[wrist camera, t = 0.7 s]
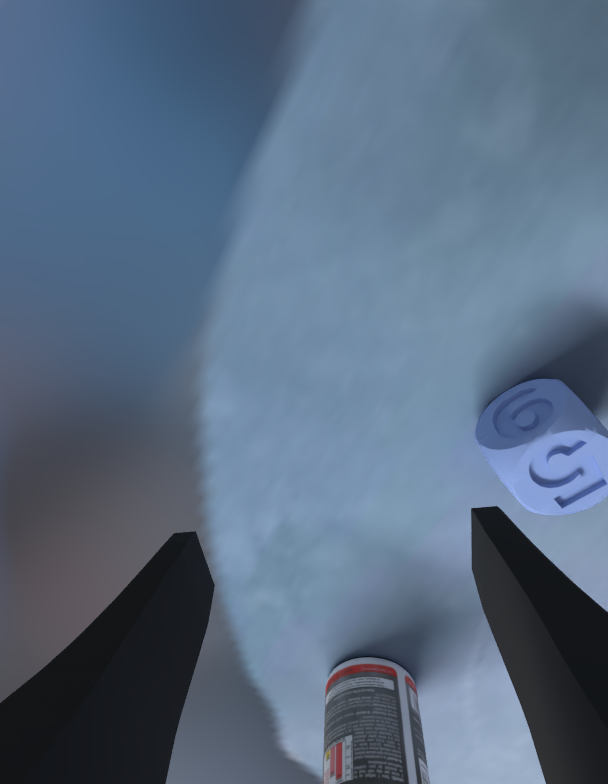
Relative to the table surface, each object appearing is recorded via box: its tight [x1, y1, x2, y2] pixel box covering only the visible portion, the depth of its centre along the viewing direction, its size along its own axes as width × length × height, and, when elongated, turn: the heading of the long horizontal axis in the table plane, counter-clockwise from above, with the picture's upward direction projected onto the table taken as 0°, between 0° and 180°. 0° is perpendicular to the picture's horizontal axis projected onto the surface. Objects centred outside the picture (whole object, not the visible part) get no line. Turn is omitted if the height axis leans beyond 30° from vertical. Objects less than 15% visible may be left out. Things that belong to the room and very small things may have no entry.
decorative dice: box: [475, 379, 608, 515], centre depth 19 cm, size 4×4×4 cm
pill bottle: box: [323, 657, 430, 784], centre depth 25 cm, size 6×6×10 cm
